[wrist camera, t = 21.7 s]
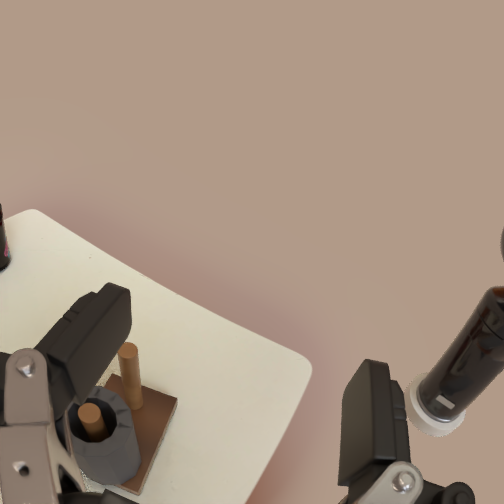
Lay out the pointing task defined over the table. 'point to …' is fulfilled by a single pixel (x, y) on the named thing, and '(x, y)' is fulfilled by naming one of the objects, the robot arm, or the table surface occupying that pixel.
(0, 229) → the supplement container
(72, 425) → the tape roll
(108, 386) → the rack
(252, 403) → the table surface
